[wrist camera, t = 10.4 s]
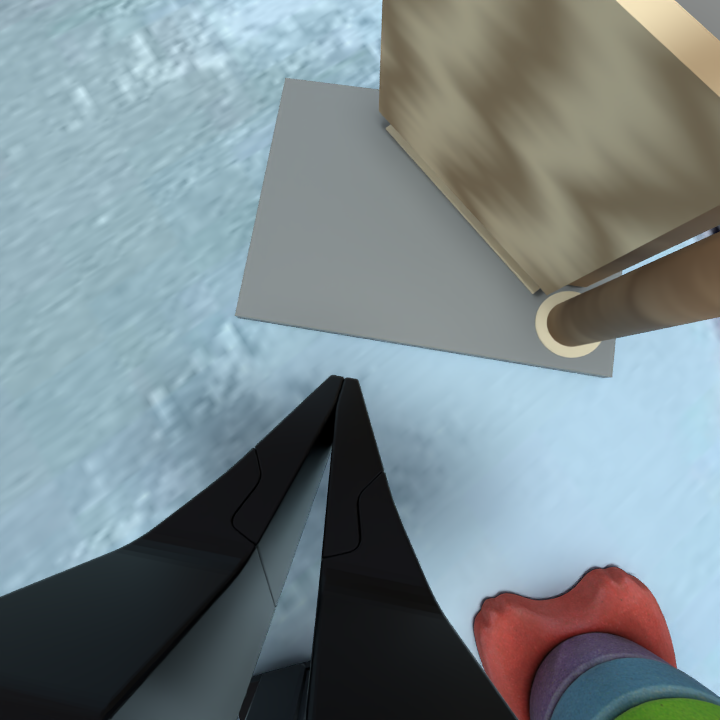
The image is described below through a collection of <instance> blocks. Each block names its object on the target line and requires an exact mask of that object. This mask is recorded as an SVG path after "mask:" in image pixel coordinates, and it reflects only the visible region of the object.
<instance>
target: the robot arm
mask: <svg viewBox="0 0 720 720" xmlns="http://www.w3.org/2000/svg"><path fill="white" fill-rule="evenodd" d="M331 449H332V451H331ZM330 452H331V462H330V472H329V483H328V494H327V504H326V515H325V526H324V536H323V547H322V558H321V568H320V579H319V589H318V599H317V608H316V618H315V627H314V637H313V646H312V656H311V661H309V662H305V663H302V664H297V665H293V666H289V667H286V668H282V669H278V670H275V671H271V672H267V673H264V674H261V675H257V676H254V677H252V675H253V672H254V669H255V666H256V663H257V660H258V658H259V655H260V652H261V649H262V646H263V643H264V640H265V638H266V635H267V632H268V629H269V626H270V623H271V621H272V618H273V615H274V612H275V607H276V606H277V603H278V600H279V598H280V595H281V592H282V589H283V586H284V583H285V580H286V578H287V575H288V572H289V569H290V566H291V563H292V561H293V558H294V555H295V552H296V549H297V546H298V543H299V541H300V538H301V535H302V532H303V529H304V526H305V524H306V521H307V518H308V515H309V512H310V509H311V506H312V504H313V501H314V498H315V495H316V492H317V489H318V486H319V484H320V481H321V478H322V475H323V472H324V469H325V467H326V464H327V461H328V458H329V455H330ZM238 714H239V718H240V720H519V719H518V718H517V717H516V715H515V714H514V712H513V711H512V710H511V708H510V707H509V705H508V704H507V703H506V701H505V700H504V698H503V697H502V695H501V694H500V693H499V691H498V690H497V688H496V687H495V686H494V684H493V683H492V681H491V680H490V679H489V677H488V676H487V674H486V673H485V672H484V670H483V669H482V667H481V666H480V664H479V663H478V662H477V660H476V659H475V657H474V656H473V655H472V653H471V652H470V650H469V649H468V648H467V646H466V645H465V643H464V642H463V640H462V639H461V638H460V636H459V635H458V633H457V632H456V631H455V629H454V628H453V626H452V625H451V624H450V622H449V621H448V619H447V618H446V616H445V615H444V613H443V611H442V610H441V608H440V606H439V604H438V602H437V601H436V599H435V597H434V595H433V593H432V591H431V589H430V587H429V584H428V582H427V580H426V578H425V575H424V573H423V571H422V568H421V566H420V564H419V561H418V559H417V557H416V554H415V552H414V550H413V547H412V545H411V543H410V540H409V538H408V536H407V533H406V531H405V529H404V526H403V524H402V521H401V519H400V516H399V514H398V511H397V508H396V506H395V503H394V500H393V497H392V494H391V491H390V488H389V485H388V481H387V478H386V474H385V472H384V468H383V464H382V461H381V457H380V454H379V450H378V447H377V443H376V440H375V436H374V433H373V429H372V426H371V422H370V419H369V415H368V412H367V408H366V405H365V401H364V398H363V394H362V391H361V387H360V384H359V381H358V380H357V379H353V378H345V379H344V377H341V376H336V375H331V376H330V377H329V378H328V379H326V380H325V381H324V382H323V383H322V384H321V385H320V386H319V387H318V388H317V389H316V390H315V391H314V392H313V393H311V394H310V395H309V396H308V397H307V398H306V399H305V400H304V401H303V402H302V403H301V404H300V405H299V406H298V407H296V408H295V409H294V410H293V411H292V412H291V413H290V414H289V415H288V416H287V417H286V418H285V419H284V420H283V421H281V422H280V423H279V424H278V425H277V426H276V427H275V428H274V429H273V430H272V431H271V432H270V433H269V434H268V435H266V436H265V437H264V438H263V439H262V440H261V441H260V442H259V443H258V444H257V445H256V446H255V448H252V449H251V450H250V451H249V452H248V453H247V454H246V455H245V456H244V457H243V458H242V459H241V460H239V461H238V462H237V463H236V464H235V465H234V466H233V467H231V468H230V469H229V470H228V471H227V472H226V473H225V474H223V475H222V476H221V477H219V478H218V479H217V480H216V481H214V482H213V483H212V484H211V485H209V486H208V487H207V488H206V489H204V490H203V491H202V492H200V493H199V494H198V495H196V496H195V497H194V498H193V499H191V500H190V501H189V502H187V503H186V504H185V505H183V506H182V507H181V508H179V509H178V510H177V511H176V512H174V513H173V514H172V515H170V516H169V517H168V518H166V519H165V520H164V521H162V522H161V523H160V524H158V525H157V526H156V527H154V528H153V529H152V530H150V531H149V532H147V533H146V534H144V535H143V536H141V537H140V538H138V539H136V540H134V541H133V542H131V543H129V544H127V545H125V546H123V547H121V548H119V549H117V550H115V551H112V552H110V553H108V554H105V555H103V556H100V557H98V558H95V559H93V560H90V561H88V562H85V563H83V564H80V565H78V566H75V567H73V568H70V569H68V570H65V571H63V572H61V573H58V574H56V575H53V576H51V577H48V578H46V579H43V580H41V581H38V582H36V583H33V584H31V585H28V586H26V587H23V588H21V589H18V590H16V591H13V592H11V593H9V594H6V595H4V596H1V597H0V720H237V717H238Z"/></svg>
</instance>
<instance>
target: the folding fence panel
mask: <svg viewBox="0 0 720 720" xmlns="http://www.w3.org/2000/svg"><path fill="white" fill-rule="evenodd" d="M379 112H380V113H381V114H382V115H383V116H384V117H385V119H386V120H387V121H388V122H389V123H390V124H391V125H392V126H393V127H394V128H395V130H396V131H397V132H398V133H399V134H400V135H401V136H402V137H403V138H404V139H405V140H406V142H407V143H408V144H409V145H410V146H411V147H412V148H413V149H414V150H415V151H416V153H417V154H418V155H419V156H420V157H421V158H422V159H423V160H424V161H425V162H426V163H427V165H428V166H429V167H430V168H431V169H432V170H433V171H434V172H435V173H436V174H437V176H438V177H439V178H440V179H441V180H442V181H443V182H444V183H445V184H446V185H447V186H448V188H449V189H450V190H451V191H452V192H453V193H454V194H455V195H456V196H457V197H458V199H459V200H460V201H461V202H462V203H463V204H464V205H465V206H466V207H467V208H468V210H469V211H470V212H471V213H472V214H473V215H474V216H475V217H476V218H477V219H478V220H479V222H480V223H481V224H482V225H483V226H484V227H485V228H486V229H487V230H488V231H489V233H490V234H491V235H492V236H493V237H494V238H495V239H496V240H497V241H498V242H499V243H500V245H501V246H502V247H503V248H504V249H505V250H506V251H507V252H508V253H509V254H510V256H511V257H512V258H513V259H514V260H515V261H516V262H517V263H518V264H519V265H520V266H521V268H522V269H523V270H524V271H525V272H526V273H527V274H528V275H529V276H530V277H531V279H532V280H533V281H534V282H535V283H536V284H537V285H538V286H539V287H540V288H541V289H542V291H543V292H544V293H545V294H546V295H549V294H551V293H553V292H555V291H556V290H558V289H560V288H562V287H564V286H566V285H568V284H570V283H572V282H574V281H576V280H577V279H579V278H581V277H583V276H585V275H587V274H589V273H591V272H593V271H595V270H596V269H598V268H600V267H602V266H604V265H606V264H608V263H610V262H612V261H614V260H616V259H617V258H619V257H621V256H623V255H625V254H627V253H629V252H631V251H633V250H635V249H637V248H638V247H640V246H642V245H644V244H646V243H648V242H650V241H652V240H654V239H656V238H657V237H659V236H661V235H663V234H665V233H667V232H669V231H671V230H673V229H675V228H677V227H678V226H680V225H682V224H684V223H686V222H688V221H690V220H692V219H694V218H696V217H697V216H699V215H701V214H703V213H705V212H707V211H709V210H711V209H713V208H715V207H717V206H718V205H720V41H719V40H718V39H717V38H716V37H714V36H713V35H712V34H711V33H710V32H709V31H708V30H707V29H706V28H705V27H703V26H702V25H701V24H700V23H699V22H698V21H697V20H696V19H695V18H694V17H692V16H691V15H690V14H689V13H688V12H687V11H686V10H685V9H684V8H682V7H681V6H680V5H679V4H678V3H677V2H676V1H675V0H383V2H382V31H381V59H380V88H379Z"/></svg>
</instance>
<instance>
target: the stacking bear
mask: <svg viewBox="0 0 720 720" xmlns="http://www.w3.org/2000/svg"><path fill="white" fill-rule="evenodd" d="M474 635H475V639H476V644H477V648H478V652H479V655H480V659H481V662H482V664H483V667H484V670H485V672H486V674H487V676H488V677H489V679H490V680H491V681H492V683H493V684H494V686H495V687H496V688H497V690H498V691H499V693H500V694H501V695H502V697H503V698H504V700H505V701H506V703H507V704H508V705H509V707H510V708H511V710H512V711H513V712H514V714H515V715H516V717H517V718H518V719H519V720H720V697H719V696H717V695H716V694H715V693H713V692H712V691H711V690H709V689H708V688H706V687H705V686H703V685H702V684H701V683H699V682H698V681H696V680H695V679H694V678H692V677H690V676H689V675H687V674H686V673H684V672H682V671H680V670H679V669H677V666H676V659H675V653H674V649H673V644H672V640H671V637H670V633H669V630H668V627H667V624H666V621H665V619H664V616H663V614H662V612H661V609H660V607H659V605H658V603H657V601H656V599H655V597H654V596H653V594H652V593H651V591H650V590H649V589H648V588H647V586H646V585H644V584H643V583H642V582H641V581H640V580H639V579H637V578H636V577H634V576H632V575H628V574H627V573H626V572H625V571H623V570H622V569H620V568H617V567H609V568H606V569H601V568H599V569H594V570H592V571H590V572H589V573H587V574H586V575H585V576H584V577H583V579H582V580H581V581H580V582H579V583H578V584H577V585H576V586H575V587H574V588H573V589H572V590H571V591H569V592H568V593H566V594H564V595H562V596H560V597H557V598H553V599H548V600H532V599H528V598H525V597H522V596H519V595H516V594H511V593H504V594H501V595H499V596H497V597H495V598H490V599H486V600H485V601H484V603H483V605H482V608H481V611H480V612H479V613H478V614H477V616H476V618H475V622H474Z"/></svg>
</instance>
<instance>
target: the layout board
mask: <svg viewBox="0 0 720 720" xmlns="http://www.w3.org/2000/svg"><path fill="white" fill-rule="evenodd" d="M621 275H622V271H620V272H618V273H616V274H613V275H611V276H609V277H607V278H605V279H603V280H601V281H598V282H596V283H594V284H592V285H590V286H588V287H579V286H573V285H566V286H564V287H562V288H560V289H558V290H556V291H555V292H553V293H551V294H549V295H546V294H545V293H544V292H543V291H542V289H541V288H540V287H539V286H538V285H537V284H536V283H535V282H534V281H533V280H532V279H531V277H530V276H529V275H528V274H527V273H526V272H525V271H524V270H523V269H522V268H521V266H520V265H519V264H518V263H517V262H516V261H515V260H514V259H513V258H512V257H511V256H510V254H509V253H508V252H507V251H506V250H505V249H504V248H503V247H502V246H501V245H500V243H499V242H498V241H497V240H496V239H495V238H494V237H493V236H492V235H491V234H490V233H489V231H488V230H487V229H486V228H485V227H484V226H483V225H482V224H481V223H480V222H479V220H478V219H477V218H476V217H475V216H474V215H473V214H472V213H471V212H470V211H469V210H468V208H467V207H466V206H465V205H464V204H463V203H462V202H461V201H460V200H459V199H458V197H457V196H456V195H455V194H454V193H453V192H452V191H451V190H450V189H449V188H448V186H447V185H446V184H445V183H444V182H443V181H442V180H441V179H440V178H439V177H438V176H437V174H436V173H435V172H434V171H433V170H432V169H431V168H430V167H429V166H428V165H427V163H426V162H425V161H424V160H423V159H422V158H421V157H420V156H419V155H418V154H417V153H416V151H415V150H414V149H413V148H412V147H411V146H410V145H409V144H408V143H407V142H406V140H405V139H404V138H403V137H402V136H401V135H400V134H399V133H398V132H397V131H396V130H395V128H394V127H393V126H392V125H391V124H390V123H389V122H388V121H387V120H386V119H385V117H384V116H383V115H382V114H381V113H380V112H379V90H378V89H370V88H362V87H354V86H346V85H338V84H330V83H322V82H314V81H306V80H298V79H290V78H285V83H284V87H283V92H282V97H281V101H280V106H279V111H278V115H277V120H276V125H275V130H274V134H273V139H272V144H271V148H270V153H269V158H268V162H267V167H266V172H265V177H264V181H263V186H262V191H261V195H260V200H259V205H258V209H257V214H256V219H255V223H254V228H253V233H252V238H251V242H250V247H249V252H248V256H247V261H246V266H245V270H244V275H243V280H242V285H241V289H240V294H239V299H238V303H237V308H236V313H235V316H236V317H238V318H243V319H250V320H256V321H262V322H268V323H274V324H280V325H286V326H292V327H298V328H305V329H311V330H317V331H323V332H329V333H335V334H341V335H347V336H353V337H360V338H366V339H372V340H378V341H384V342H390V343H396V344H402V345H408V346H415V347H421V348H427V349H433V350H439V351H445V352H451V353H457V354H463V355H470V356H476V357H482V358H488V359H494V360H500V361H506V362H512V363H518V364H525V365H531V366H537V367H543V368H549V369H555V370H561V371H567V372H573V373H580V374H586V375H592V376H598V377H604V378H607V377H612V372H613V362H614V351H615V340H616V338H615V339H610V340H605V341H600V342H595V343H590V344H585V345H581V346H575V347H568V346H564V345H561V344H559V343H558V342H556V341H555V340H554V339H553V338H552V337H551V335H550V333H549V331H548V328H547V317H548V314H549V312H550V311H551V309H552V308H553V307H555V306H556V305H557V304H559V303H562V302H564V301H566V300H568V299H571V298H573V297H575V296H577V295H579V294H582V293H584V292H586V291H588V290H591V289H593V288H595V287H597V286H600V285H602V284H604V283H606V282H608V281H611V280H613V279H615V278H617V277H620V276H621Z"/></svg>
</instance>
